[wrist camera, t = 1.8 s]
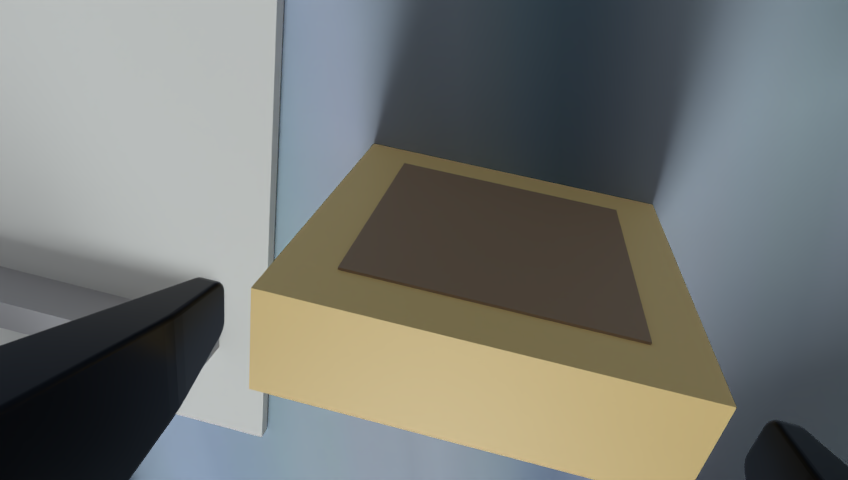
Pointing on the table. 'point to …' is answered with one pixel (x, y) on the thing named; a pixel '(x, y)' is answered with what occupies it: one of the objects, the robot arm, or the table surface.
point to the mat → (140, 167)
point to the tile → (493, 320)
